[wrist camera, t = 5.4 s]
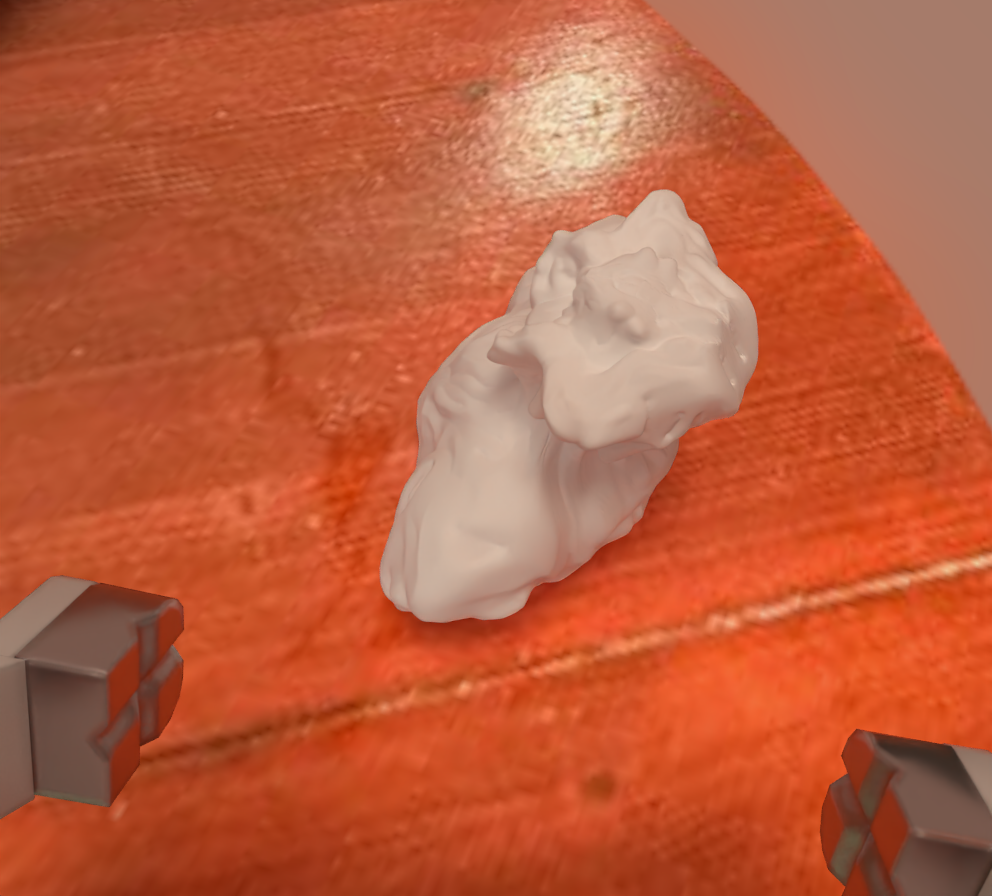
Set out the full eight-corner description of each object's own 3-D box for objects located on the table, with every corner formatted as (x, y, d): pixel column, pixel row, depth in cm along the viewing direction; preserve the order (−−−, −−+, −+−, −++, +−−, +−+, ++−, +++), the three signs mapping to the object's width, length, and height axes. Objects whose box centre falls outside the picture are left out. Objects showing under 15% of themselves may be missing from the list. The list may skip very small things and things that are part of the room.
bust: (450, 673, 24) (786, 772, 15) (229, 537, 21) (490, 559, 12) (609, 347, 29) (945, 270, 19) (448, 191, 25) (763, 8, 16)
